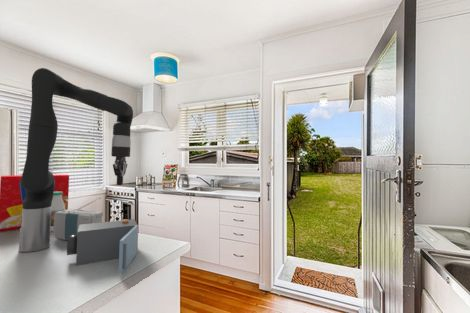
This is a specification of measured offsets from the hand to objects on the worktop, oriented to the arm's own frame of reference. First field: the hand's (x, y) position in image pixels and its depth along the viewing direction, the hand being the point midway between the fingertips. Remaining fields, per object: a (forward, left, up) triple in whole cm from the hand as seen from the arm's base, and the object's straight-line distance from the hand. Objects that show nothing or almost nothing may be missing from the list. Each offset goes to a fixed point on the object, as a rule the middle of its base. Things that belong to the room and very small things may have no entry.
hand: (119, 184), depth 100 cm
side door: (+3, -23, -26) cm, 35 cm away
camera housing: (-5, -9, -27) cm, 29 cm away
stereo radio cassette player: (-15, +16, -27) cm, 35 cm away
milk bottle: (-27, +39, -27) cm, 55 cm away
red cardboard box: (-38, +52, -27) cm, 70 cm away
